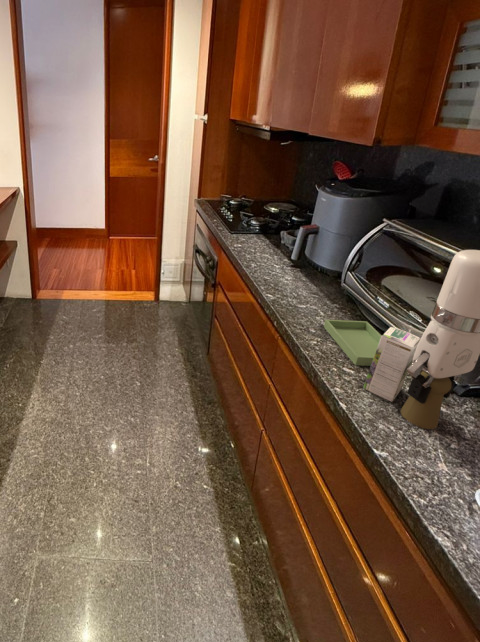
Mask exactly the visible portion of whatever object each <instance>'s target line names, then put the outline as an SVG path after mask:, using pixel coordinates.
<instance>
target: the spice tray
mask: <svg viewBox="0 0 480 642" xmlns="http://www.w3.org/2000/svg"><path fill="white" fill-rule="evenodd" d="M323 328H324V329H325V331H326V332H327V333H328V334H329V335H330V336H331V338H333V340H334V341H335V343H336V344H337V345H338V346H339V347H340V348H341V350H342V351H343V352H344V353H345V354H346V356H347V357H348V358H349V360H350V361H351V363H353V364H354V366H364V367H367V366H368V367H371V364H372V361H373V359H374V356H375V353H376V350H377V347H378V345H379V342H380V339H381V336H383V334H381V333H380V332H379V331H378V330H376V328H375V327H374V326H372V324H370V323H369V322H368V321H367V320H345V319H343V320H342V319H325V320H324V324H323Z"/></svg>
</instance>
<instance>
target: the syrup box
mask: <svg viewBox="0 0 480 642" xmlns="http://www.w3.org/2000/svg"><path fill="white" fill-rule="evenodd" d="M420 339H421V337H419V336H417V335H415V334H413V333H411V332H408V331H405V330H403V329H401V328H396V327H392V326H390V327H389V328H388V329H387V330H386V331H385V332H384V333H383V334H382V336H381V339H380V342H379V345H378V347H377V350H376V353H375V356H374V359H373V361H372V364H371V366H369V370H368V373H367V376H366V378H365V381H364V385H363V388H362V389H364V390H366V391H368V392H370V393H372V394H374V395H375V396H378V397H380V398H382V399H384V400H387V401H390V403H391V402H392V403H393V402H394V401H395V399H397V396H398V395H399V393H400V392H401V390H402V388H403V386H404V383H405V380H406V378H407V376H408V374H409V373H408V372H407V369H408V368H409V367H410V366H411V365H412V364H413V357H414V353H415V351H416V348H417V346H418V344H419V341H420Z"/></svg>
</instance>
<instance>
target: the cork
mask: <svg viewBox="0 0 480 642" xmlns="http://www.w3.org/2000/svg"><path fill="white" fill-rule="evenodd" d="M421 375H423V376H424V377H425V379H426V378H427V376H428V375H429V374H427V373H426V372H424V371H422V373H421ZM451 384H452V383H451V381H450V379H449V378H448V377H446V378H439V379H438V378H434V380H433V381H432V383H431V384H430V387H431V391H430V393H429V395H428V398H427V400H426V403H423V404H422V403H420V402H419V401H417V400H416V399H414V398H413V397H412V396H410V395H409V396H408V398H407V399H406V400H405V402H404V404H403V405H402V407H401V408H400V414H401V416H402V417H403V418H404V419H405V420H406V421H408V422H409V423H411V424H412V425H414V426H416V427H419V428H422V429H426V430H435V429H436V428H438V425H439V420H440V415H441V411H442V406H443V401H444V394H446V393H448V392H449V391H450V389H451Z"/></svg>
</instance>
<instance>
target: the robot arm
mask: <svg viewBox="0 0 480 642" xmlns="http://www.w3.org/2000/svg"><path fill="white" fill-rule="evenodd" d="M420 338H421V339H420V341H419V344H418V346H417V348H416V351H415V353H414V357H413V361H412V363H411V366H410V367H409V368H408V369H407V372H408V373H407V374H409V375H410V378H411V381H410V384H409V386H408V388H407V395H409V396H412V397H413V398H414V399H416V400H417V401H419V402H420V403H422V404H423V403H426V400H427V398H428V395H429V393H430V391H431V387H430V384H431V383H432V381H433V380H434V378H438V379H439V378H446V377H448V378H449V379H450V381H451V383H452V384H451V389H450V391H449V392H448V393H446V394H444V397H443V399H447V398H450V396H451V393H452V391H453V388H454V387H455V384H456V382H457V381H458V380H459V379H460V375H463V374H467V373H470V372H472V371H473V370H475V367H476V365H477V362H478V359H479V357H480V249H464V250H460V251H458V252H456V253H455V255H454V256H453V257H452V260H451V262H450V264H449V267H448V269H447V273H446V275H445V278H444V280H443V284H442V286H441V289H440V291H439V294H438V297H437V299H436V302H435V304H434V307H433V309H432V312H431V315H430V321H429V323H428V325H427V326H426V328H425V330H424V332H423V334H422V335H421V337H420ZM422 371H424V372H426V373H427V374H429V375H428V376H427V378H426V379H425V377H424V376H423V375H421V373H422Z"/></svg>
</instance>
